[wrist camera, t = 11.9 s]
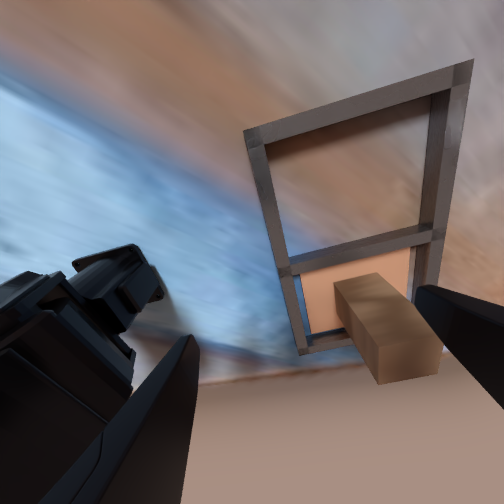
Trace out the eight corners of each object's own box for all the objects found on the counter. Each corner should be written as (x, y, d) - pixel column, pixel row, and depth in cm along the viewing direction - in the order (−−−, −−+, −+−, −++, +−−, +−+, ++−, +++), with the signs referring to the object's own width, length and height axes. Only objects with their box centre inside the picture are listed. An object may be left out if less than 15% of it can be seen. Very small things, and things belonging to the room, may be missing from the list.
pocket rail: (296, 345, 26) (299, 355, 24) (243, 132, 15) (243, 130, 14) (419, 318, 24) (430, 328, 23) (452, 67, 14) (474, 58, 13)
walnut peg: (336, 313, 23) (378, 385, 16) (333, 282, 21) (378, 347, 14) (376, 304, 23) (437, 373, 16) (376, 272, 21) (446, 333, 14)
